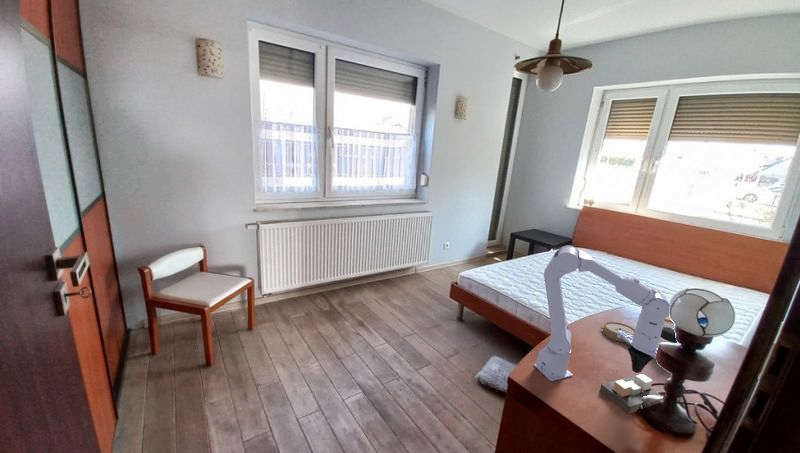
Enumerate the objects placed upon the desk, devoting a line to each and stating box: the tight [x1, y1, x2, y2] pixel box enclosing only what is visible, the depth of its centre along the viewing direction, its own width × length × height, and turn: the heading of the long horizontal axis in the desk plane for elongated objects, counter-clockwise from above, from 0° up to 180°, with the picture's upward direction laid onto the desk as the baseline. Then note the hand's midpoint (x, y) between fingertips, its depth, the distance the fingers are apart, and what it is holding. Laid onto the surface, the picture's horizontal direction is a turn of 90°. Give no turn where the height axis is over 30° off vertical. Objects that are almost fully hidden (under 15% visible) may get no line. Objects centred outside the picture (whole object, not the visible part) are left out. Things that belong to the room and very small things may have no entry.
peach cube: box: [613, 379, 632, 397], centre depth 92 cm, size 3×3×3 cm
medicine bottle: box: [657, 327, 677, 347], centre depth 113 cm, size 7×7×12 cm
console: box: [599, 375, 661, 415], centre depth 95 cm, size 14×9×3 cm, turn 108°
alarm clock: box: [600, 321, 636, 346], centre depth 126 cm, size 11×5×15 cm
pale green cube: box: [626, 381, 641, 396], centre depth 94 cm, size 3×3×3 cm
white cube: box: [634, 373, 653, 391], centre depth 95 cm, size 3×3×3 cm
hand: (636, 371), depth 93 cm, fingers closed
